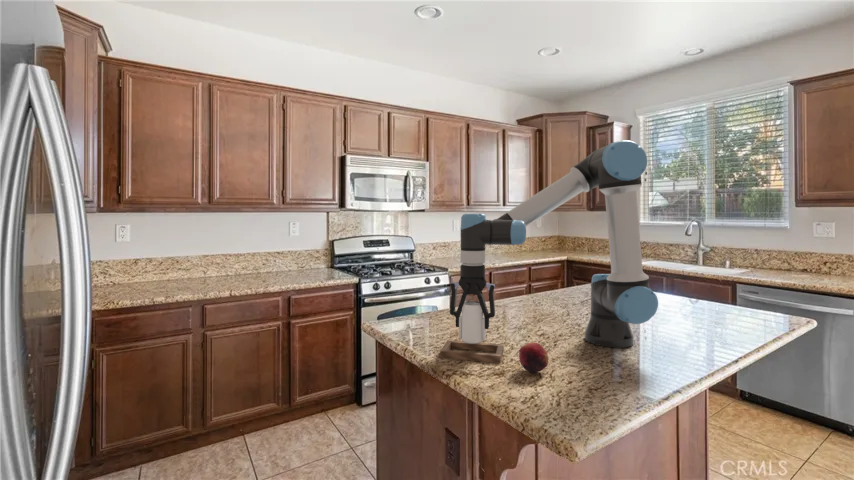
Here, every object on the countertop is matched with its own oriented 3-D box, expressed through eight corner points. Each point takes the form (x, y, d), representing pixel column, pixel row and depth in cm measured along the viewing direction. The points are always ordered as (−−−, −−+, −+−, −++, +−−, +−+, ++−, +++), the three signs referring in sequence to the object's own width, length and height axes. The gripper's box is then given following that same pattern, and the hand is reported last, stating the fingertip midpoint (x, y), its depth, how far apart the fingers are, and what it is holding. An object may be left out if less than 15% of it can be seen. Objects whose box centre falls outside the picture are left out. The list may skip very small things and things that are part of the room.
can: (481, 345, 123) (482, 305, 122) (460, 343, 124) (460, 304, 123) (483, 338, 129) (483, 301, 128) (462, 337, 130) (463, 300, 130)
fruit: (547, 368, 115) (547, 340, 115) (549, 378, 108) (549, 349, 107) (519, 366, 117) (519, 338, 116) (518, 376, 109) (519, 347, 109)
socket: (503, 350, 130) (503, 344, 130) (500, 362, 119) (500, 356, 119) (447, 346, 134) (447, 340, 134) (440, 357, 124) (440, 351, 124)
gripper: (505, 263, 126) (504, 337, 128) (444, 261, 131) (444, 332, 133) (503, 266, 119) (503, 344, 120) (439, 264, 124) (438, 339, 125)
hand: (472, 338), depth 127 cm, fingers closed on can, 6 cm apart
